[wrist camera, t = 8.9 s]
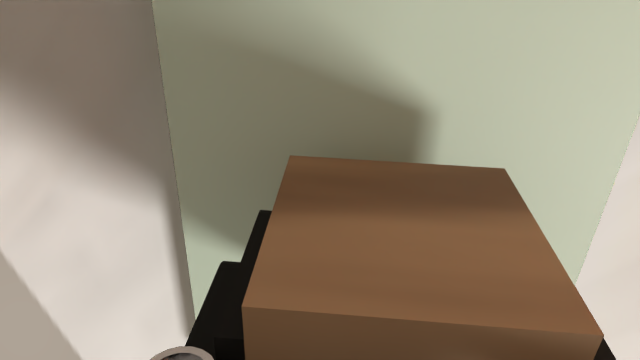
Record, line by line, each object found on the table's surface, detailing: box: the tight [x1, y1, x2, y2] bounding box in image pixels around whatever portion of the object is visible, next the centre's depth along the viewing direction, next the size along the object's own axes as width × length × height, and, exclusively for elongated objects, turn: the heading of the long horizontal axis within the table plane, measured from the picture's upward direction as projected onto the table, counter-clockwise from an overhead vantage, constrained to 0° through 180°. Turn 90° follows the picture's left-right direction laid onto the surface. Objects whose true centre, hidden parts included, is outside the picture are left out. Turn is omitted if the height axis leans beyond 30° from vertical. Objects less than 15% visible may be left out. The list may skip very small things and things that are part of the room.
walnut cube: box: [242, 155, 604, 360], centre depth 10 cm, size 5×5×5 cm
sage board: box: [151, 0, 640, 319], centre depth 14 cm, size 14×12×1 cm
